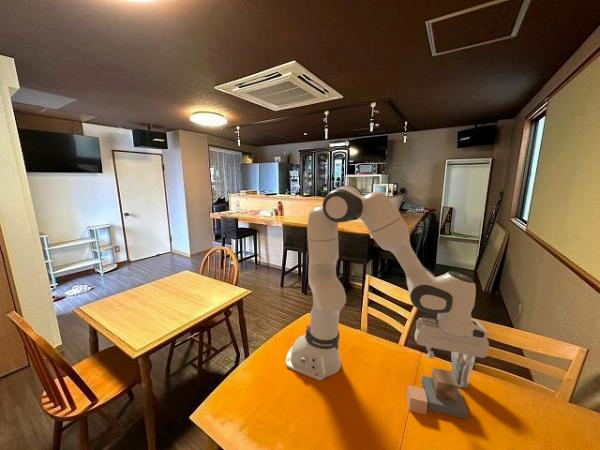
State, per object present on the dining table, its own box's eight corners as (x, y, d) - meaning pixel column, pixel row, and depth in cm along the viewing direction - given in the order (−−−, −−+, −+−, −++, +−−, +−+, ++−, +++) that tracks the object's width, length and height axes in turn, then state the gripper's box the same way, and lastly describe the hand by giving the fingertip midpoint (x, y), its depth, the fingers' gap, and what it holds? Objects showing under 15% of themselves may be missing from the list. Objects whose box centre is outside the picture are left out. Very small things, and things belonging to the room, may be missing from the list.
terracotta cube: (409, 410, 77) (410, 398, 76) (406, 397, 82) (408, 385, 81) (426, 415, 76) (427, 401, 75) (422, 401, 81) (424, 388, 80)
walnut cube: (435, 397, 79) (437, 381, 78) (431, 382, 84) (433, 367, 83) (456, 401, 77) (458, 386, 76) (450, 386, 83) (452, 371, 82)
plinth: (428, 409, 78) (429, 402, 77) (421, 382, 88) (422, 375, 87) (467, 419, 74) (468, 411, 74) (455, 389, 85) (456, 382, 84)
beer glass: (474, 391, 84) (480, 353, 81) (452, 387, 86) (457, 351, 83) (465, 375, 91) (470, 340, 88) (445, 372, 92) (449, 338, 89)
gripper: (418, 321, 75) (413, 359, 78) (495, 335, 70) (486, 375, 73) (415, 311, 81) (410, 347, 84) (485, 323, 76) (477, 361, 78)
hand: (446, 360), depth 78 cm, fingers open, 8 cm apart
